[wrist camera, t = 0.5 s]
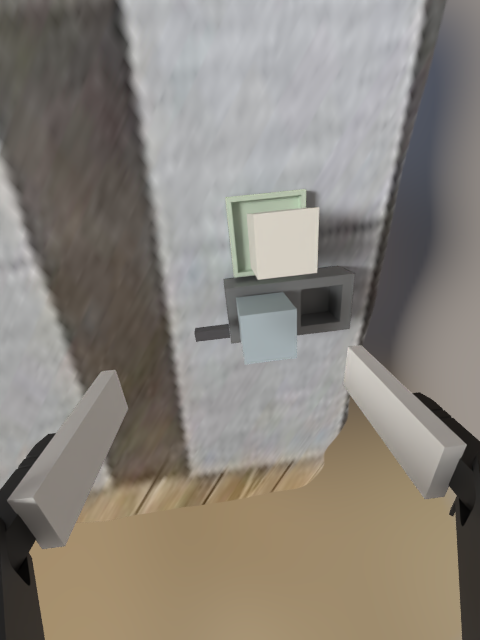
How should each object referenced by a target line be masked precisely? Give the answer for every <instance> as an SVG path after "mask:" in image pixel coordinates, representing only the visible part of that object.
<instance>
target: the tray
mask: <svg viewBox="0 0 480 640" xmlns="http://www.w3.org/2000/svg"><path fill="white" fill-rule="evenodd" d="M225 200H226V210H227V219H228V228H229V237H230V246H231V255H232V264H233V274H234V278H235V277H243V276H252V275H255V274H254V272H253V270H252V269H251V264H250V252H249V239H248V227H247V214H249V213H258V212H267V211H277V210H286V209H295V208H306V189H301V190H291V191H282V192H272V193H263V194H253V195H244V196H234V197H226V198H225Z"/></svg>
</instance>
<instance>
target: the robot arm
mask: <svg viewBox="0 0 480 640" xmlns="http://www.w3.org/2000/svg"><path fill="white" fill-rule="evenodd" d="M343 386H344V387H345V388H346V390H347V391H348V393H349V394H350V395H351V397H352V398H353V400H354V401H355V402H356V404H357V405H358V407H359V408H360V409H361V411H362V412H363V414H364V415H365V416H366V418H367V419H368V420H369V422H370V423H371V425H372V426H373V427H374V429H375V430H376V432H377V433H378V434H379V436H380V437H381V438H382V440H383V441H384V443H385V444H386V446H387V447H388V448H389V450H390V451H391V453H392V454H393V455H394V457H395V458H396V460H397V461H398V462H399V464H400V465H401V467H402V468H403V469H404V471H405V472H406V474H407V475H408V476H409V478H410V479H411V481H412V482H413V483H414V485H415V486H416V488H417V489H418V490H419V492H420V493H421V494H422V496H423V497H424V499H429V498H438V497H444V496H445V494H446V492H447V489H448V487H449V486H450V488H451V489H452V490H453V491H454V492H455V494H456V495H457V497H456V499H455V501H454V503H453V505H452V507H451V510H450V513H449V515H451V516H453V515H454V513H455V511H456V530H457V548H458V566H459V585H460V605H461V622H462V640H480V441H479V440H478V439H476V438H475V437H474V436H473V435H472V434H471V433H470V432H468V431H467V430H466V429H465V428H464V427H463V426H462V425H460V424H459V423H458V422H457V421H456V420H455V419H454V418H451V416H450V415H449V414H448V413H447V412H446V411H445V410H444V411H443V409H442V408H441V407H440V406H439V405H438V404H437V403H436V402H434V401H433V400H432V399H430V398H428V397H427V396H425V395H423V394H421V393H411V392H410V391H409V390H408V389H407V388H406V387H405V386H404V385H403V384H402V383H401V382H399V381H398V380H397V379H396V378H395V377H394V376H393V375H392V374H391V373H390V372H389V371H388V370H387V369H386V368H385V367H384V366H383V365H382V364H380V363H379V362H378V361H377V360H376V359H375V358H374V357H373V356H372V355H371V354H370V353H369V352H368V351H367V350H366V349H365V348H363V347H362V346H361V345H360V346H350V347H348V352H347V360H346V368H345V376H344V383H343ZM127 410H128V406H127V403H126V400H125V397H124V394H123V391H122V388H121V385H120V382H119V379H118V376H117V373H116V370H110V371H101V373H100V374H99V375H98V377H97V378H96V379H95V381H94V382H93V384H92V385H91V386H90V388H89V389H88V390H87V392H86V393H85V395H84V396H83V397H82V399H81V400H80V401H79V403H78V404H77V405H76V407H75V408H74V410H73V411H72V412H71V414H70V415H69V416H68V418H67V419H66V420H65V422H64V423H63V425H62V426H61V427H60V429H59V430H58V431H57V433H54V434H48V435H47V436H45V437H44V438H43V439H42V440H41V441H40V442H38V443H37V444H36V445H35V446H34V447H33V449H32V450H31V451H30V452H29V454H28V455H27V456H26V459H24V460H23V461H22V463H21V464H20V465H19V467H18V469H16V470H15V472H14V473H13V474H12V475H11V477H10V478H9V479H8V481H7V482H6V483H5V484H4V486H3V487H2V488H1V489H0V640H45V638H44V632H43V625H42V619H41V613H40V607H39V600H38V593H37V587H36V581H35V575H34V569H33V562H32V558H31V556H30V554H29V551H30V549H31V547H32V546H33V544H34V542H35V540H36V541H37V542H38V544H39V545H40V547H41V548H42V549H47V548H55V547H62V546H65V545H66V543H67V541H68V538H69V536H70V534H71V532H72V530H73V527H74V525H75V523H76V521H77V519H78V517H79V514H80V512H81V510H82V508H83V506H84V503H85V501H86V499H87V497H88V495H89V493H90V490H91V488H92V486H93V484H94V482H95V480H96V477H97V475H98V473H99V471H100V469H101V466H102V464H103V462H104V460H105V458H106V456H107V453H108V451H109V449H110V447H111V445H112V443H113V440H114V438H115V436H116V434H117V432H118V429H119V427H120V425H121V423H122V421H123V419H124V416H125V414H126V412H127Z"/></svg>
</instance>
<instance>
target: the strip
mask: <svg viewBox="0 0 480 640" xmlns="http://www.w3.org/2000/svg"><path fill="white" fill-rule="evenodd" d="M354 278H355V273H352V272H350V271H348V270H346V269H344V268H342V267H339V266H332V267H323V268H317V273H312V274H303V275H295V276H286V277H277V278H269V279H260V280H258V279H257V277H256V276H255V275H254V276H246V277H237V278H228V279H224V289H225V297H226V305H227V312H228V320H229V324H225V325H217V326H209V327H201V328H195V338H196V342H198V341H206V340H214V339H222V338H230V336H231V343H239V342H241V345H242V351H243V357H244V363H245V364H253V363H261V362H269V361H277V360H285V359H292V358H297V335H303V334H311V333H319V332H327V331H336V330H344V329H350V320H351V309H352V299H353V288H354ZM229 328H230V331H229Z"/></svg>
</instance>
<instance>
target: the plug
mask: <svg viewBox="0 0 480 640" xmlns="http://www.w3.org/2000/svg"><path fill="white" fill-rule="evenodd" d="M247 227H248V239H249V252H250V264H251V269H252V270H253V272H254V274H255V276H256V277H257V279H258V280H260V279H269V278H277V277H286V276H295V275H303V274H312V273H317V263H318V231H319V207H314V208H295V209H286V210H277V211H267V212H258V213H249V214H247Z"/></svg>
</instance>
